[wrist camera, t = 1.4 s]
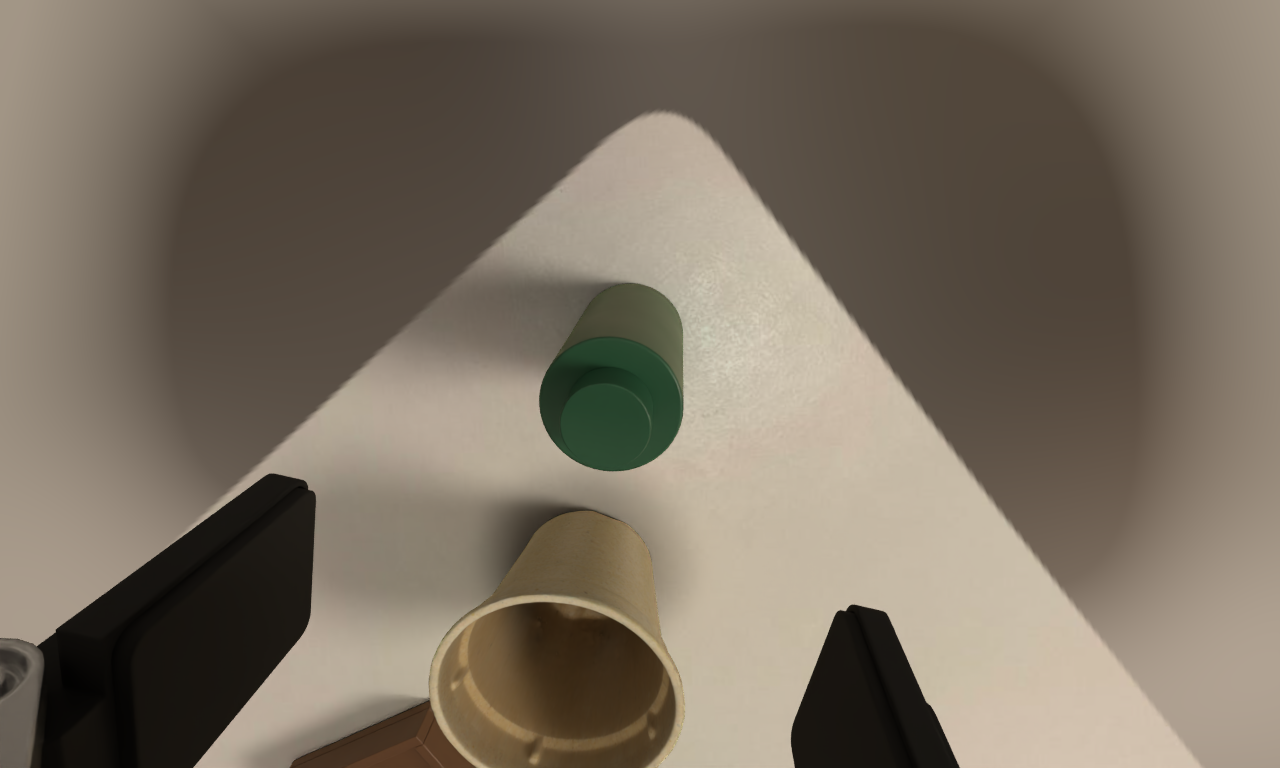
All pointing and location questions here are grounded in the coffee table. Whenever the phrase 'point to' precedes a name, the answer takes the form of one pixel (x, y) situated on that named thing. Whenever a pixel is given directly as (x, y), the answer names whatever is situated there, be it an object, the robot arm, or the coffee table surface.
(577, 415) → the bottle
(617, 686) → the flower pot
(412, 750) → the tray
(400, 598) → the coffee table surface
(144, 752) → the robot arm
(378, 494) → the coffee table surface
